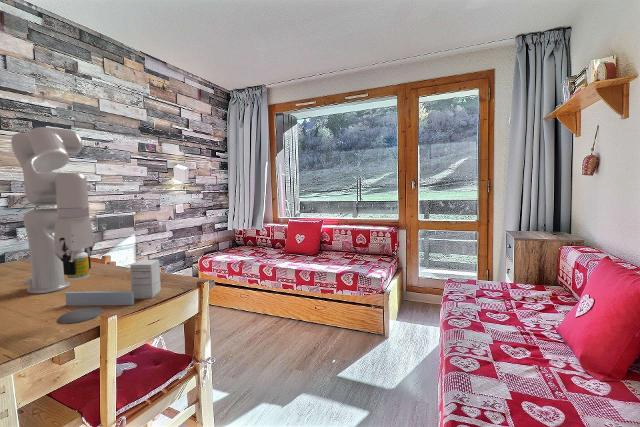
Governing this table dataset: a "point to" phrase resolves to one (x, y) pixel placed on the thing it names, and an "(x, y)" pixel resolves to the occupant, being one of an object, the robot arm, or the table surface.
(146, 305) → the table surface
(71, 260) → the robot arm
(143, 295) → the supplement box
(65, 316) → the mat
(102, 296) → the acrylic wall
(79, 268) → the supplement bottle
